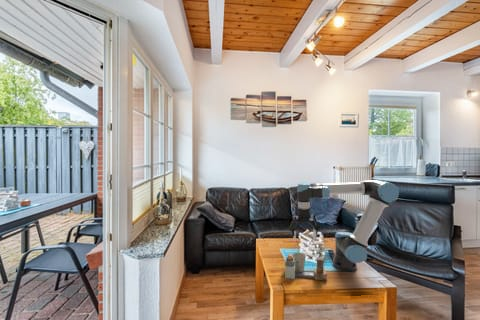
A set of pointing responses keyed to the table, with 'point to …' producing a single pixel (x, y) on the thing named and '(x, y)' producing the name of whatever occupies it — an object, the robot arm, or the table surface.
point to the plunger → (289, 257)
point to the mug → (299, 261)
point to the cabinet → (289, 268)
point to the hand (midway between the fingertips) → (304, 240)
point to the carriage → (320, 270)
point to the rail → (304, 274)
